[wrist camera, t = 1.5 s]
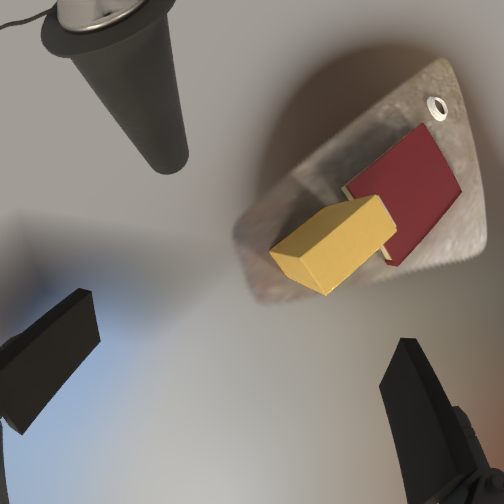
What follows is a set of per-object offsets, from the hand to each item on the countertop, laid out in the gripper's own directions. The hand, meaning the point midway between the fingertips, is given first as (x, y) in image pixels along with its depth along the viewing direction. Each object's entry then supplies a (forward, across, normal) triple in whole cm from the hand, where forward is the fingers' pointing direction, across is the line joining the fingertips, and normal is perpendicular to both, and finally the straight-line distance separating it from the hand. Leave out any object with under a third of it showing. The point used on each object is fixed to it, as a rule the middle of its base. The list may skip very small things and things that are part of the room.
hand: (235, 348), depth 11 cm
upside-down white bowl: (+34, +22, +18) cm, 45 cm away
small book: (+22, +4, -2) cm, 23 cm away
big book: (+28, +16, +5) cm, 32 cm away
